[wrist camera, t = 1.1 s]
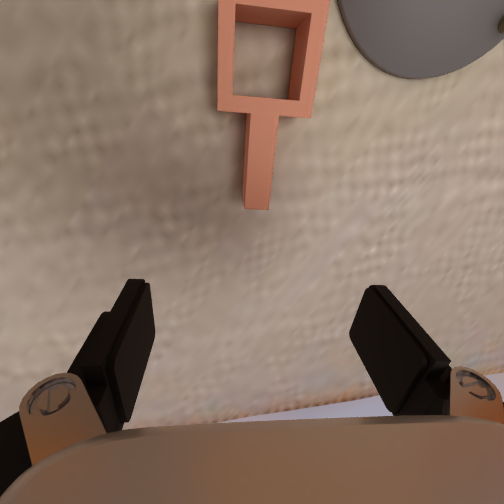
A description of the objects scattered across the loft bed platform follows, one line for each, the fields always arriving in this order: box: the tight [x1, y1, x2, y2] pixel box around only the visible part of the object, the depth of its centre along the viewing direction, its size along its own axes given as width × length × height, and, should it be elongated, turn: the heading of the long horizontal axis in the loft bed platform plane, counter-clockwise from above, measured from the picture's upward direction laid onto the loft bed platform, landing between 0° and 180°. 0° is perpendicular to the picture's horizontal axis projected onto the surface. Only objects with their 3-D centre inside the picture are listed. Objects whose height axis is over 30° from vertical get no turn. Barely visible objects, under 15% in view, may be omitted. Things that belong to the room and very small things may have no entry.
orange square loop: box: [217, 0, 330, 210], centre depth 20 cm, size 14×7×4 cm, turn 176°
